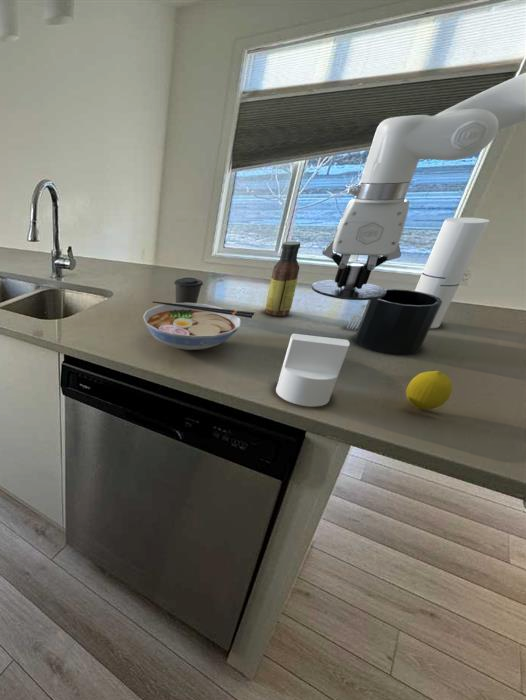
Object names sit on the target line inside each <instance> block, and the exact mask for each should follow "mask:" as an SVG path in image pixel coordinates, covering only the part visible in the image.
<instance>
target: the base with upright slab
mask: <svg viewBox="0 0 526 700" xmlns="http://www.w3.org/2000/svg"><path fill="white" fill-rule="evenodd" d="M350 344H351V343H350V341H349V340H348V339H343V338H334V337H326V336H317V335H310V334H309V335H308V334H300V333H292V334H291V335H290V339H289V342H288V346H287V350H286V352H285V356H284V359H283V363H282V366H281V370H280V374H279V377H278V381H277V384H276V388H275V392H276V394H277V395H278V396H279V397H280V398H281V399H282V400H285V401H286V402H288V403H291V404H295V405H297V406H304V407H314V408H315V407H323V406H324V405H327V404H328V403H329V402H330V400H331V397H332V395H333V391H334V389H335V385H336V383H337V380H338V377H339V375H340V372H341V369H342V366H343V365H344V361H345V359H346V356H347V353H348V350H349V348H350Z"/></svg>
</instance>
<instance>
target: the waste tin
mask: <svg viewBox="0 0 526 700" xmlns="http://www.w3.org/2000/svg"><path fill="white" fill-rule="evenodd" d="M384 289H385V288H384ZM385 290H386V295H385V296H384V297H382V298H379V299H373V300H367V303H366V305H367V306H366V305H365V306H366V309H365V311H364V314H363V317H361V318H362V319H361V318H360V319H361V322H360V325H359V326H358V327H357V329H356V333H355V335H354V342H355V343H356V344H357V345H359V346H361V347H362V348H364V349H366V350H369V351H372V352H377V353H380V354H381V353H382V354H385V355H386V354H387V355H396V356H397V355H398V356H405V355H413V354H416V353H418V352H419V351H420V350H421V348H422V346H423V344H424V342H425V340H426V338H427V336H428V333H429V331H430V329H431V328H430V327H431V325H432V323H433V321H434V319H435V316H436V314H437V312H438V310H439V308H440V306H441V304H442V301H441V299H440V298H438V297H436V296H433V295H431V294H427V293H423V292H418V291H415V290H411V289H400V288H399V289H397V288H387V289H385Z"/></svg>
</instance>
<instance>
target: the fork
mask: <svg viewBox="0 0 526 700" xmlns="http://www.w3.org/2000/svg"><path fill="white" fill-rule="evenodd" d="M366 306H367V304H366V305H365V306H364V308H363V310H362V311H361V314H356V313H354V314H352V316H351V317H350V319H349V321H348V324H347V326H346V330H347V329H348V330H350V329H351V330H353V329H354V331H357V329H358V328H359V325H360V322H361V319H362V317H363V314H364V311H365V309H366Z"/></svg>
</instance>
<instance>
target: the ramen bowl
mask: <svg viewBox="0 0 526 700" xmlns="http://www.w3.org/2000/svg"><path fill="white" fill-rule="evenodd" d="M151 303H152V304H158V305H156V306H154V307H151V308H149V309H147V310H146V311H145V312H144V314H143V315H142V319H143V320H144V323H145V326H146V328H147V330H148V331H149V333H150V334H151V335H152V336H153V338H154V339H156V340H157V341H159V342H161V343H163V344H164V345H166V346H169V347H172V348H176V349H179V350H183V351H194V350H204V349H209V348H214V347H216V346H218V345H220V344H221V343H223V342H225V341H226V340H227V339H229V338H230V337H232V335H234V334H235V333H236V332H237V331H238V330H239V328H240V327H241V322H242V318H248V319H252V318H253V316H255V312H253V311H244V310H235V309H226V308H224V307H220V306H216V305H212V304H206V303H198V302H197V303H176V302H172V303H171V302H163V301H162V302H161V301H154V300H153V301H152V302H151ZM240 317H242V318H240Z"/></svg>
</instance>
